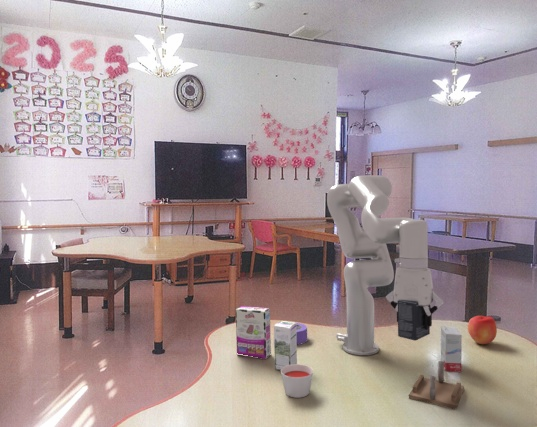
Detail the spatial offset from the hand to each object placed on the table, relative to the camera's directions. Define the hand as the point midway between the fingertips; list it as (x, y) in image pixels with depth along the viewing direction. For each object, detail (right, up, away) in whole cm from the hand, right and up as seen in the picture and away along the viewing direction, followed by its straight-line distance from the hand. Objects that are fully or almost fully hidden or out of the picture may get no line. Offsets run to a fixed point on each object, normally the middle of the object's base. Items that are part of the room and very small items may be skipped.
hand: (414, 326), depth 126 cm
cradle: (+6, -18, -2) cm, 19 cm away
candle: (-33, -19, 0) cm, 38 cm away
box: (0, -3, 0) cm, 3 cm away
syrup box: (-35, -18, +17) cm, 43 cm away
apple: (+36, -15, +36) cm, 53 cm away
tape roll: (-32, -16, +43) cm, 56 cm away
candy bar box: (-46, -17, +28) cm, 57 cm away
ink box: (+17, -17, +16) cm, 29 cm away
